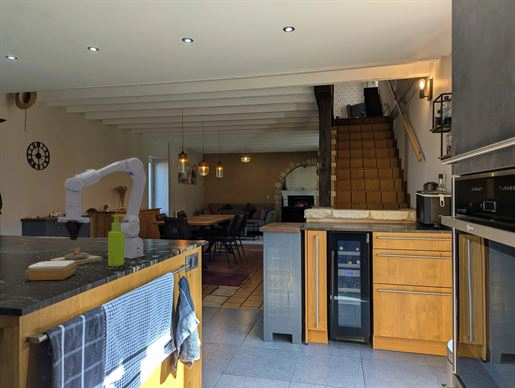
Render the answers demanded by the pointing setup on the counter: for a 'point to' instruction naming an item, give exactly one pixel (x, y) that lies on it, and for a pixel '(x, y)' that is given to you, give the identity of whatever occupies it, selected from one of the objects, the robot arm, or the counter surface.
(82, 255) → the handwheel
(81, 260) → the board
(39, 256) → the counter surface
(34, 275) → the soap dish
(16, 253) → the counter surface
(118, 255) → the soap dispenser
